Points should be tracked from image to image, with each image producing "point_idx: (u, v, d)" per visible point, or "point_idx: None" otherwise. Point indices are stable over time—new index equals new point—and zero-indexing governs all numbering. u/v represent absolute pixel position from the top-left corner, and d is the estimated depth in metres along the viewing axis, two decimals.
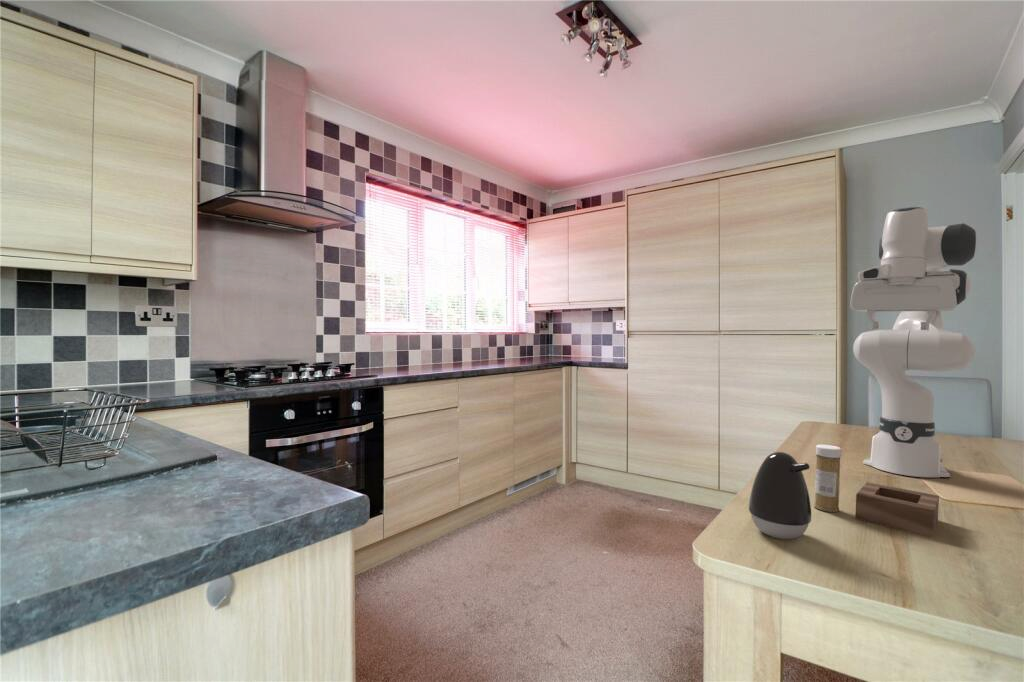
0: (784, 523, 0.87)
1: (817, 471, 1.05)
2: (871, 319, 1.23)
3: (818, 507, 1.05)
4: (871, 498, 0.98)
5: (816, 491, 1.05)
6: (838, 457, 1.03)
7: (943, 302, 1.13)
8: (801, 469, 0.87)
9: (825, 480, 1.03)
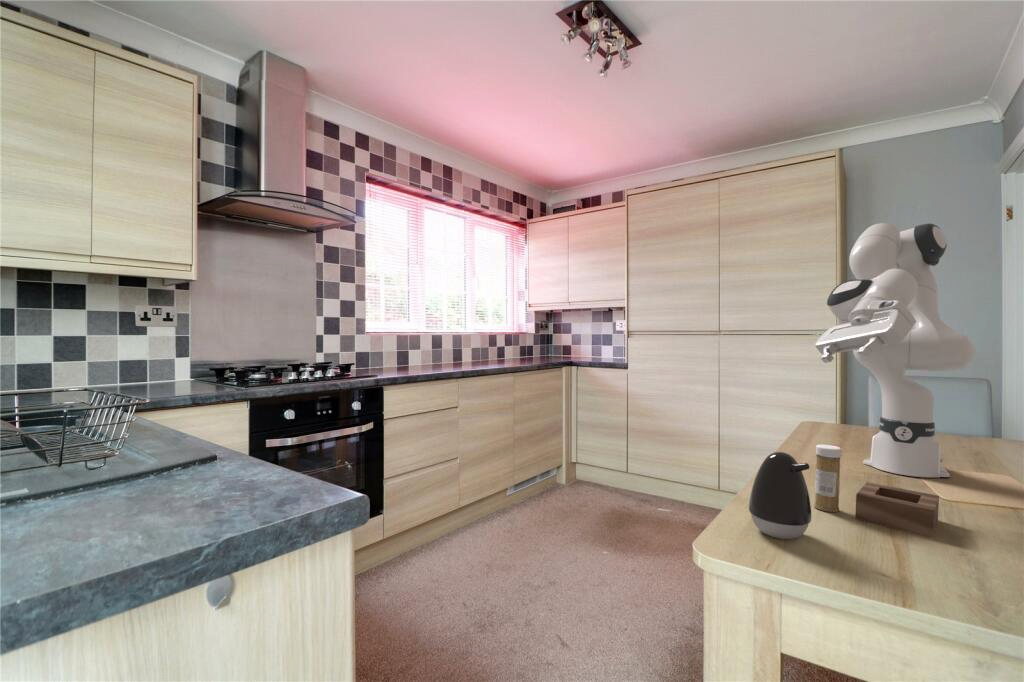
0: (784, 523, 0.87)
1: (817, 471, 1.05)
2: None
3: (818, 507, 1.05)
4: (871, 498, 0.98)
5: (816, 491, 1.05)
6: (838, 457, 1.03)
7: None
8: (801, 469, 0.87)
9: (825, 480, 1.03)
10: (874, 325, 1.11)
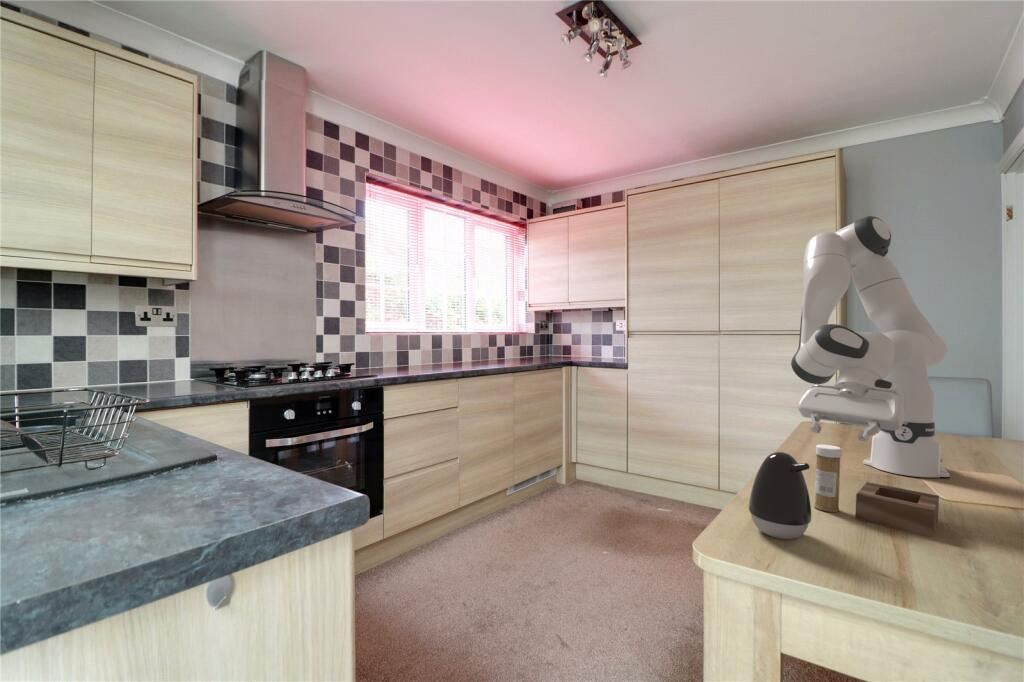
0: (784, 523, 0.87)
1: (817, 471, 1.05)
2: None
3: (818, 507, 1.05)
4: (871, 498, 0.98)
5: (816, 491, 1.05)
6: (838, 457, 1.03)
7: None
8: (801, 469, 0.87)
9: (825, 480, 1.03)
10: (871, 406, 1.09)
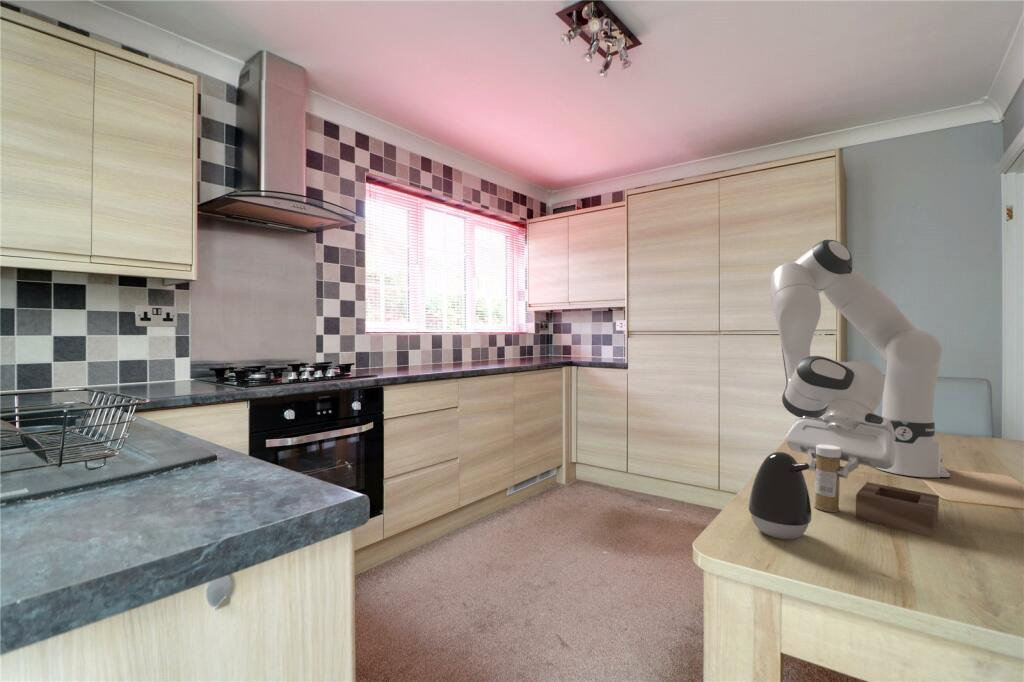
0: (784, 523, 0.87)
1: (817, 471, 1.05)
2: None
3: (818, 507, 1.05)
4: (871, 498, 0.98)
5: (816, 491, 1.05)
6: (838, 457, 1.03)
7: None
8: (801, 469, 0.87)
9: (825, 480, 1.03)
10: (861, 442, 1.03)
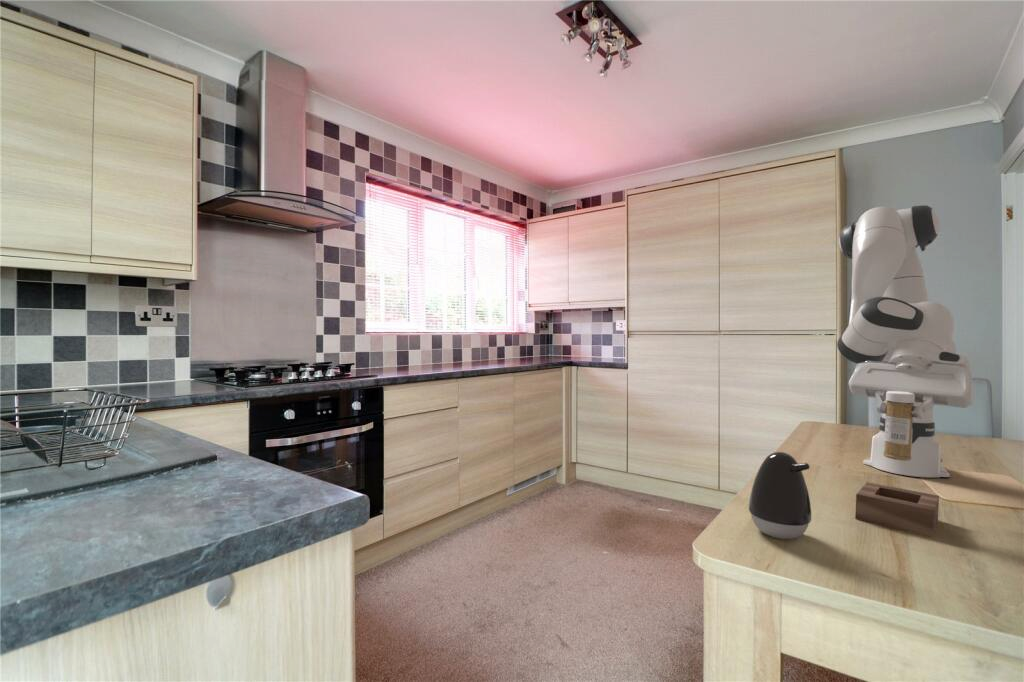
0: (784, 523, 0.87)
1: (888, 418, 1.00)
2: None
3: (889, 456, 0.99)
4: (871, 498, 0.98)
5: (886, 439, 1.00)
6: (912, 402, 0.98)
7: None
8: (801, 469, 0.87)
9: (898, 427, 0.98)
10: (937, 381, 0.98)
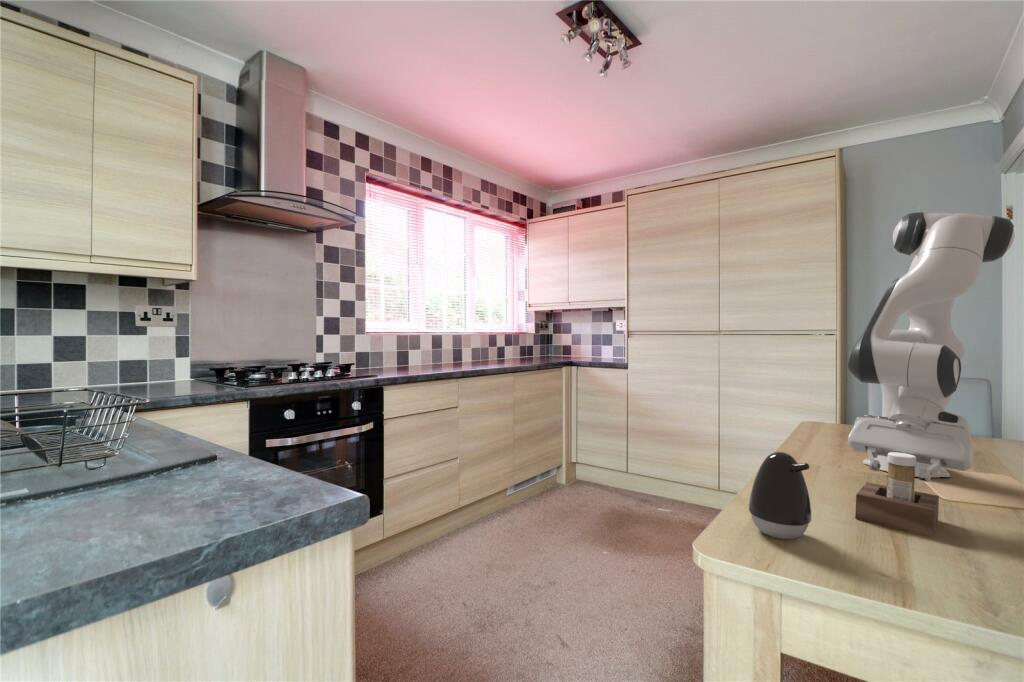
0: (784, 523, 0.87)
1: (890, 480, 1.00)
2: None
3: None
4: (871, 498, 0.98)
5: None
6: (913, 466, 0.97)
7: None
8: (801, 469, 0.87)
9: (900, 490, 0.98)
10: (935, 442, 0.98)
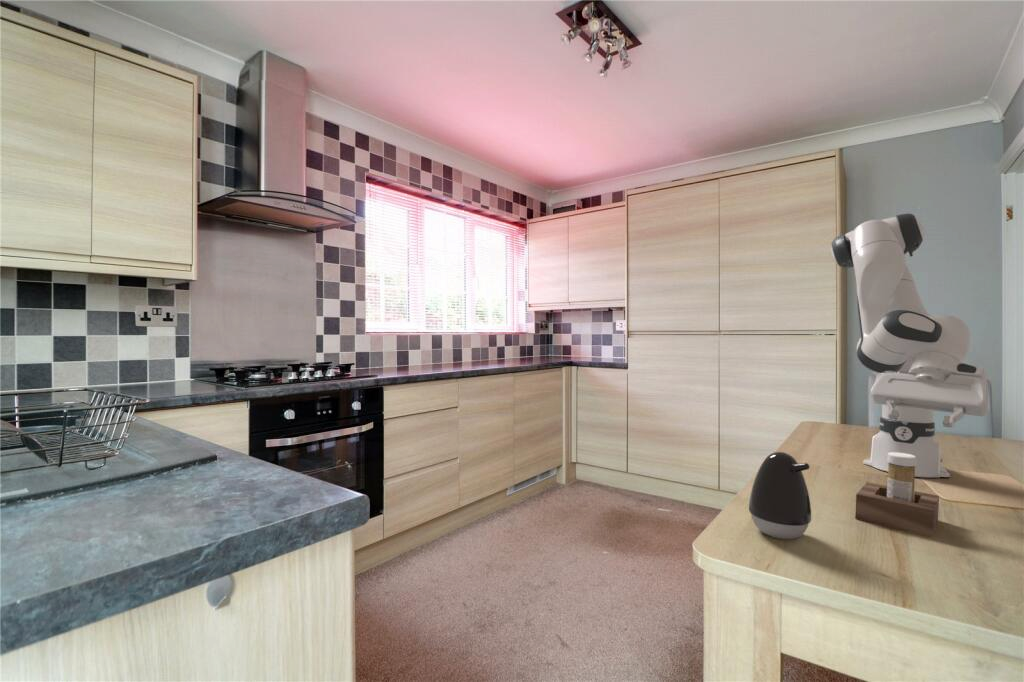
0: (784, 523, 0.87)
1: (890, 480, 1.00)
2: None
3: None
4: (871, 498, 0.98)
5: None
6: (913, 466, 0.97)
7: None
8: (801, 469, 0.87)
9: (900, 490, 0.98)
10: (955, 391, 1.05)
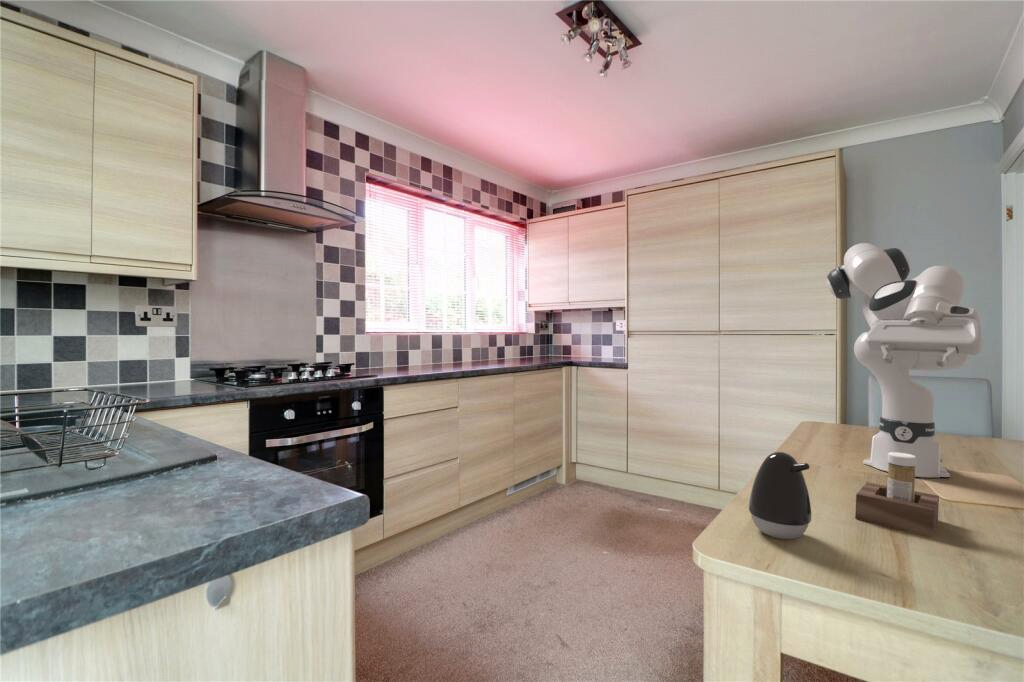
0: (784, 523, 0.87)
1: (890, 480, 1.00)
2: None
3: None
4: (871, 498, 0.98)
5: None
6: (914, 466, 0.97)
7: None
8: (801, 469, 0.87)
9: (900, 490, 0.98)
10: (948, 332, 1.07)
